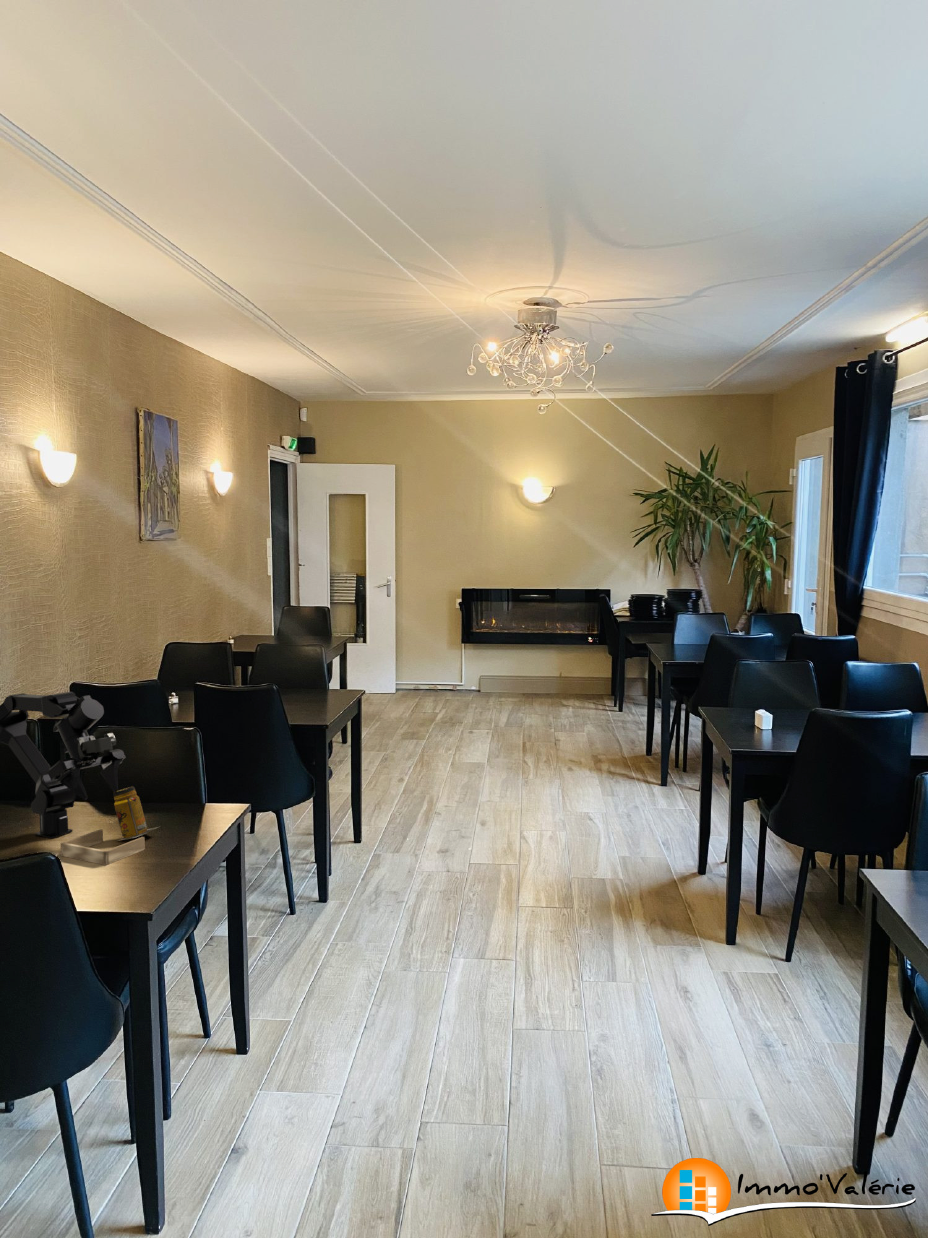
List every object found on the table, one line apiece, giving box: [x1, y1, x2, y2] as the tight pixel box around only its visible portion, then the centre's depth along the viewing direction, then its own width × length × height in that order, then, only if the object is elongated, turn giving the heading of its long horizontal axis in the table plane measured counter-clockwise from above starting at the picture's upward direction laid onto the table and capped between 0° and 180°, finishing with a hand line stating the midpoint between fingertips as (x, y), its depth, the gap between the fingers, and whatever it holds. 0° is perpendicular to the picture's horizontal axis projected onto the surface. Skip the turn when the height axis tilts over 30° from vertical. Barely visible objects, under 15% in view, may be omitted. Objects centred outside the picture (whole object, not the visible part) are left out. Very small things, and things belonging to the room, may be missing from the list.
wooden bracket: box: [60, 828, 146, 866], centre depth 213 cm, size 15×12×3 cm
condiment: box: [112, 786, 161, 842], centre depth 223 cm, size 7×8×12 cm
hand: (101, 795), depth 216 cm, fingers open, 9 cm apart
